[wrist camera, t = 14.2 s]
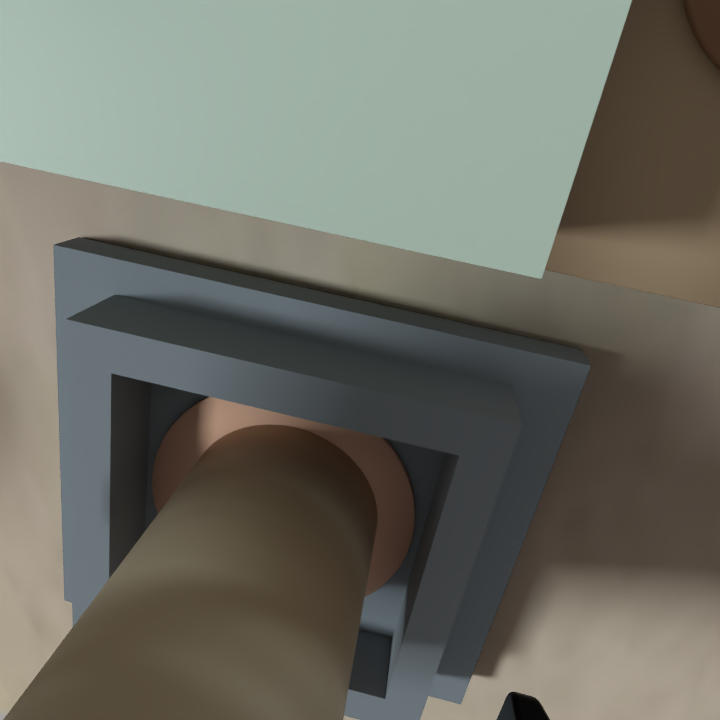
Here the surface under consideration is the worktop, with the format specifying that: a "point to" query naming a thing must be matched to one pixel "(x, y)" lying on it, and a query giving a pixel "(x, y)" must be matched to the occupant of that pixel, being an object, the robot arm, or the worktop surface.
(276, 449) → the peg
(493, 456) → the blue-grey square tray
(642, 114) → the board
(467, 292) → the worktop surface
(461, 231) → the cover
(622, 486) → the worktop surface
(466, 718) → the worktop surface
